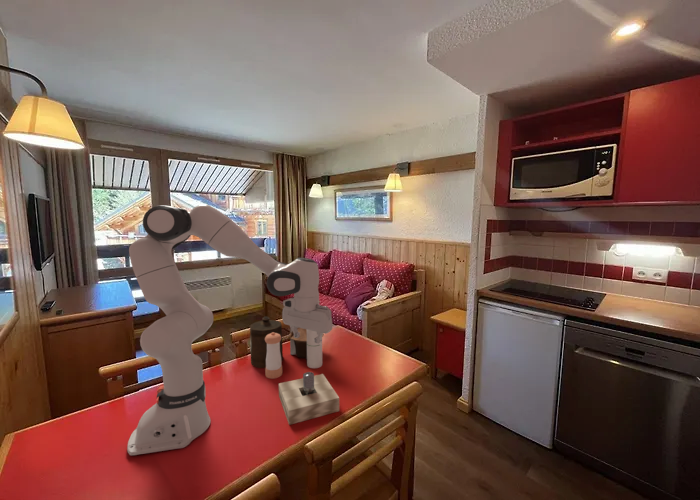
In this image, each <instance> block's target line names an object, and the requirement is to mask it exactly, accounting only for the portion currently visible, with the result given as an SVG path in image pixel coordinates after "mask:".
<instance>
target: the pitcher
mask: <svg viewBox="0 0 700 500" xmlns="http://www.w3.org/2000/svg"><path fill="white" fill-rule="evenodd" d="M320 303H321V301H320V300H319V304H320ZM297 330H298V332H300V337H299V338H294V333H293V331H292V333H291V334H290V333H289V334H288V339H289V340H290V339H292V340H294V343H295V349H296V355H295V356H296V357H298V358H299V359H307V329H303V328H298V329H297ZM324 334H325V333H323V335H322V338H323V337H325V335H324Z"/></svg>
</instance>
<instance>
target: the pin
mask: <svg viewBox="0 0 700 500" xmlns="http://www.w3.org/2000/svg"><path fill="white" fill-rule="evenodd" d="M314 376H315V373H314V372H313V371H306V372H304V373H303V374H302V378H303V395H304V396H305V395H309V394H313V393H314Z"/></svg>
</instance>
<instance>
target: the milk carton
mask: <svg viewBox="0 0 700 500" xmlns="http://www.w3.org/2000/svg"><path fill="white" fill-rule="evenodd" d="M298 328H299V327H297V329H298ZM291 333H292V329H291V326H290V325H289V334H291ZM289 341H290V342H289V345H290V348H289V349H290V355H292V356H293V355H295V356H296V349H295V343H294V340H292V339H289Z"/></svg>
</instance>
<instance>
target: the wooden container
mask: <svg viewBox="0 0 700 500" xmlns="http://www.w3.org/2000/svg"><path fill="white" fill-rule="evenodd" d="M282 329H283V328H282V322H281V321H278V320H276V319H275V320H274V319H270V317H269V316H263V317H262V320H259V321H255V322H253V323H252V324H250V325H249V332H250V333H249V335H250V336H249V341H250V342H249V343H250V345H249V346H250V364H251V366H252V367H255V368H258V369H265V368H266V355H267V343H266V342H265V337H266V336H267V335H268V334H271V333H272V332H274V333H278V334H280V336H281V341H280V354H281V363H282V362H283V359H284V358H283V357H284V355H283V354H284V353H283V352H284V351H283V331H282Z"/></svg>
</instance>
